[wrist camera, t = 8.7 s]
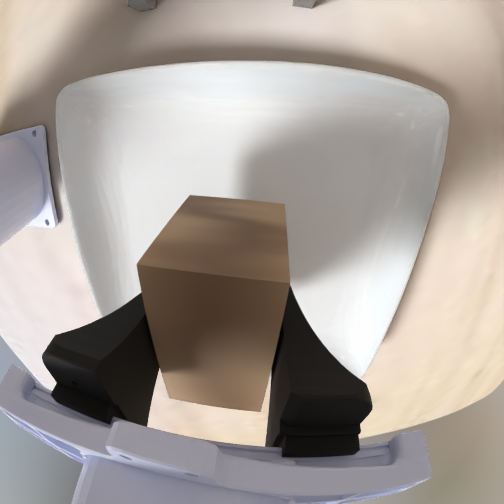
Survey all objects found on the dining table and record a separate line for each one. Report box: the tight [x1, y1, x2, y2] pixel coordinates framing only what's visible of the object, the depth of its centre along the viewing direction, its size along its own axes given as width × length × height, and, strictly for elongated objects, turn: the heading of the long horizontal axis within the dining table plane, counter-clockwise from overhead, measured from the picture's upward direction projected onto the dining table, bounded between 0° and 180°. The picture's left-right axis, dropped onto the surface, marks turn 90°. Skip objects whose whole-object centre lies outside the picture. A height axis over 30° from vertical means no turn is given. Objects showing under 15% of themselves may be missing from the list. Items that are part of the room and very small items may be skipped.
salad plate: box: [55, 60, 450, 379], centre depth 16 cm, size 21×21×3 cm
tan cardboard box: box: [136, 195, 290, 412], centre depth 12 cm, size 4×8×6 cm, turn 175°
